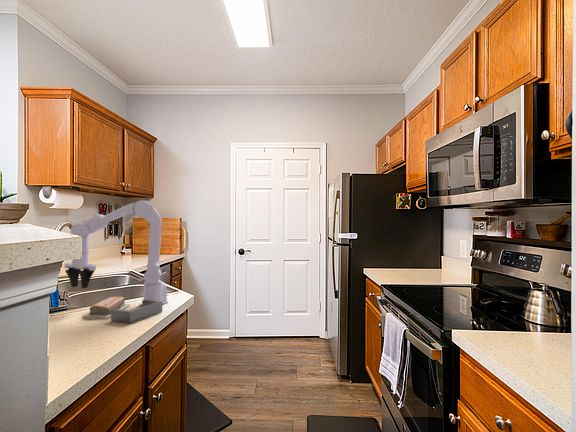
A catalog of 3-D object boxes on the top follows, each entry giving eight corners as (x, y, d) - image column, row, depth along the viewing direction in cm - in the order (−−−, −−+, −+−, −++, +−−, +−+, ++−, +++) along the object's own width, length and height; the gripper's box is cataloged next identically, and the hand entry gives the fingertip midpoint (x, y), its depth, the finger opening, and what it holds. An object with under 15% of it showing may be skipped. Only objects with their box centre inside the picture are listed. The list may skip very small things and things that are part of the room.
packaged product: (105, 295, 148) (130, 295, 148) (105, 307, 148) (129, 307, 148) (81, 306, 130) (109, 306, 130) (81, 319, 130) (109, 320, 130)
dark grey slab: (144, 309, 143) (144, 299, 143) (162, 311, 140) (162, 301, 140) (110, 321, 127) (111, 309, 127) (129, 323, 124) (130, 312, 124)
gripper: (57, 253, 142) (57, 287, 142) (85, 255, 137) (84, 290, 137) (73, 251, 149) (73, 284, 149) (100, 253, 144) (99, 287, 144)
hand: (79, 287), depth 143 cm, fingers open, 5 cm apart
